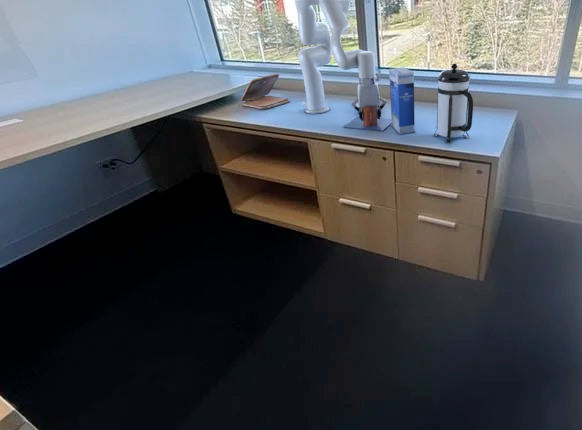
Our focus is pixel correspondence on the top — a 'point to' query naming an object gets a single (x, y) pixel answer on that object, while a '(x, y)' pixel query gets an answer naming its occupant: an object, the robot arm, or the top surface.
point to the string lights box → (402, 99)
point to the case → (262, 93)
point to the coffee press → (454, 103)
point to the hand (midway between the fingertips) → (370, 119)
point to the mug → (370, 116)
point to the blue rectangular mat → (359, 125)
